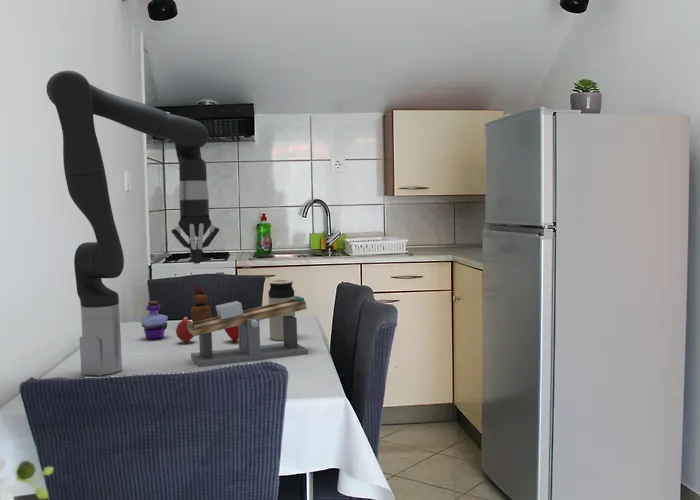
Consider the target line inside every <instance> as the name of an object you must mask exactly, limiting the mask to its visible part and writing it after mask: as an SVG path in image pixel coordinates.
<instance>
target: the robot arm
mask: <svg viewBox="0 0 700 500" xmlns="http://www.w3.org/2000/svg"><path fill="white" fill-rule="evenodd" d="M45 87H46V95H47V96H48V99H49V100H50V101H51V103H52V104H53V105H54V106H55V108H56V109H55V110H56V112H57V115H58V119H59V123H60V126H61V132H62V158H63V169H64V176H65V181H66V185H67V186H66V187H67V190H68V191H67V192H68V194H69V196H70V198H71V200H72V202H73V203H74V204H75V206H76V207H77V208H78V209H79V211H80V212H81V213H82V214H83V215H84V217H85V218H86V219H87V220H88V222H89V224H90V225H91V227H92V230H93V232H94V236H95V240H96V241H94V242H93V241H92V242H91V241H90V242H84V243H83V242H82V243H81V244H79V245H78V246H77V248H76V250H75V253H74V258H73V261H74V265H73V266H74V268H73V269H74V276H75V283H76V285H75V286H76V293H77V296H78V298H79V302H80V316H81V334H82V336H80V337H79V352H80V353H79V355H80V372H81V375H87V376H103V375H109V374H114V373H117V372H118V373H119V372H121V371H122V370H123V358H122V356H123V355H122V340H121V339H122V337H121V317H120V314H121V313H120V298H119V294H118V292H117V291H115V290H112V289H111V288H108V287H107V286H106V284H104V283H103V280H102V279H116V278H119V276H120V275H121V274H122V273H123V271H124V267H125V266H124V265H125V257H124V251H123V247H122V243H121V240H120V236H119V233H118V232H119V231H118V229H117V226H116V221H115V218H114V213H113V208H112V203H111V200H110V195H109V194H110V193H109V186H108V180H107V175H106V171H105V165H104V160H103V156H102V152H101V148H100V144H99V141H98V140H99V139H98V136H97V134H96V128H95V121H94V120H95V119H94V115H95V116H98V117H101V118H105V119H107V120H110V121H113V122H115V123H118V124H120V125H123V126H124V127H127V128H130V129H133V130H135V131H137V132H140V133H141V134H142V133H143V134H146V135H149V136H152V137H154V138H158V139H162V140H165V139H166V140H171V141H174V148H175V152H176V158H177V161H178V165H179V168H178V171H179V173H178V174H179V187H178V193H179V194H178V198H179V217H180V218H179V221H178V224H177V226H175V228H172V229H171V230H170V233H171V234H172V235H173V236H174V237H175V238H176V239H177V241H178V242H179V243H180V244H181V245H182V246H183V247H184V248H187V249H188V250H189V257H190V261H191V262H192V263H193V264H194V265H196V264H200V263H201V262H202V261H203V251H202V250H203V249H205V248H207V247H209V246H210V245H211V243H212V242H213V240H214V239H215V238H216V236H217V235H218V233H219V232H220V228H219V227H216V225H213V223H212V220H211V218H210V205H209V201H210V200H209V187H208V179H207V178H208V177H207V174H208V173H207V165H206V161H205V160H204V159H203V158H202V154H201V152H202V151H201V148H202V147H204V146H205V145H206V144H207V143H208V141H209V138H210V133H209V131H208V128H207V127H206V125H204V124H203V123H201V122H200V121H198V120H195V119H192V118H189V117H185V116H182V115H181V116H180V115H176V114H172V113H168V112H166V111H164V110H162V109H159V108H157V107H153V106H152V105H151V106H150V105H149V104H146V103H143V102H139V101H136V100H133V99H129V98H125V97H124V96H123V97H121V96H120V95H115V94H113V93H110V92H108V91H105V90H103V89H101V88H98V87H96V86H95V85H93V84H91V83H89V81H88V79H87V78H86V77H85V76H84V75H83V74H81V73H80V72H78V71H76V70H75V71H74V70H64V71H63V70H62V71H59V72H57V73H55V74H53V75H52V76H51V77H49V79H48V81H47V83H46V86H45ZM182 232H183V233H184V234H185V235H186V236H187V238H188V241H187V240H186V239H185V238H184V237H183V235H181V234H182ZM207 232H209V234H208V235H207V237H206V238H205V240H204V235H206V233H207ZM203 240H204V241H203Z"/></svg>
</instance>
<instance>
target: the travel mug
mask: <svg viewBox="0 0 700 500" xmlns="http://www.w3.org/2000/svg"><path fill="white" fill-rule="evenodd" d="M293 282H294V280H292V279H273V280H269V281H268V284H269V287H270V288H269V290H268V305H270V304H274V303H278V302H283V301H287V300H291V299H295V297H294V296H295V290H294V288H293ZM283 316H293V317H295V318H296V312H292V313H288V314H284V315H280V316H275V317H271V318H268V319H269V322H268V323H269V339H271V340H273V341H280V342H281V341H283V342H284V334H283Z"/></svg>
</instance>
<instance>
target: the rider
mask: <svg viewBox="0 0 700 500" xmlns="http://www.w3.org/2000/svg"><path fill="white" fill-rule="evenodd" d="M215 310H216V315H217V317H218V320H219V321H224V320H228V319H232V318H236V317H240V316H244V315H243V311H244V310H243V305H242V302H240V301H238V300H235V301H230V302H225V303H222V304H217V305H215Z"/></svg>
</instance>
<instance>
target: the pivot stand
mask: <svg viewBox="0 0 700 500" xmlns="http://www.w3.org/2000/svg"><path fill="white" fill-rule="evenodd" d="M297 322H298V321H297V317H296V316H295V317H293V316H283V334H284V340H283V342H280V343H273V344H272V343H271V344H262V345H261V334H260V331H261V330H260V328H261V327H260V320H259V319H258V318H254V319H247V324H242V325H238V334H239V338H238V347H234V348H226V349H225V348H224V349H217V350H216V349H215V350H213V339H212V338H213V335H212V333H213V332H209V333H205V334H201V335H198V339H199V343H198V344H199V351H197V352H191V353H190V357H191V359H192V360H193V361H194V362H195V364H196V365H197V366H198V367H199V366H201V367H209V366H216V365H225V363H226V364H235V363H240V362H248V361H249V362H251V361H259V360H265V359H266V360H267V359H275V358H283V357H292V356H299V355H301V356H302V355H308V354H309V353H308V349H307V348H305V347H304V346H302V345H300V344H299V343H298V325H297V324H298V323H297ZM234 362H235V363H234Z"/></svg>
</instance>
